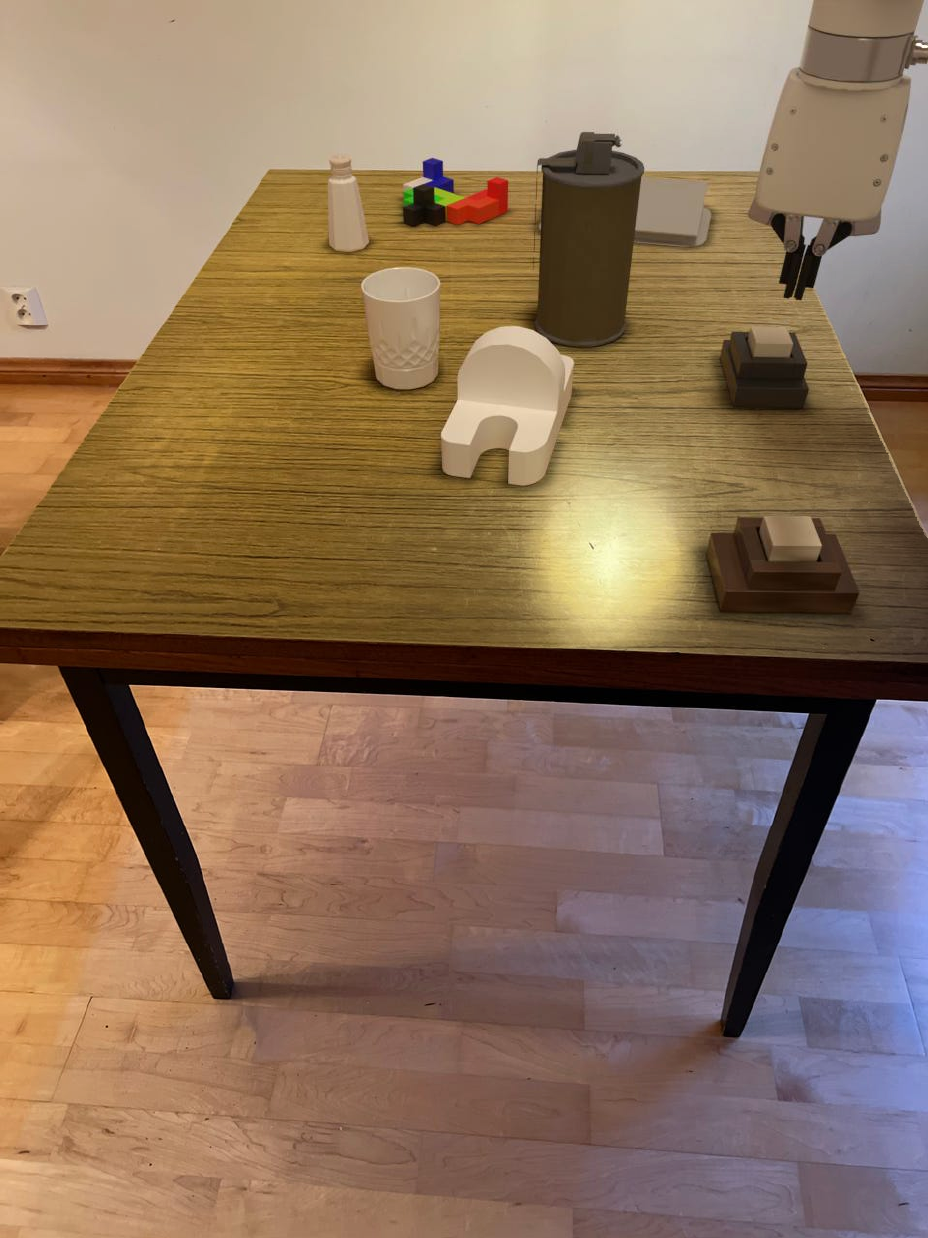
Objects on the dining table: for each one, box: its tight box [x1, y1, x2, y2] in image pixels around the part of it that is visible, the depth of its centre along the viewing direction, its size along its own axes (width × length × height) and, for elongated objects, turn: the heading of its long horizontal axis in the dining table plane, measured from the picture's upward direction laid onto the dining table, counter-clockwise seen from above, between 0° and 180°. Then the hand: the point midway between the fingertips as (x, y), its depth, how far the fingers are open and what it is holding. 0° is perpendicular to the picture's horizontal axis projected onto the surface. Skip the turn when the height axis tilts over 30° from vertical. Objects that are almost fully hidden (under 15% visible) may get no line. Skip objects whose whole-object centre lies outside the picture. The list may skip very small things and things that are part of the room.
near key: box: [759, 515, 822, 562], centre depth 67 cm, size 4×4×2 cm
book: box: [538, 176, 712, 248], centre depth 123 cm, size 15×23×4 cm, turn 74°
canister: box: [532, 131, 645, 348], centre depth 95 cm, size 11×10×20 cm
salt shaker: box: [327, 154, 370, 253], centre depth 116 cm, size 5×5×11 cm
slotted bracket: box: [440, 325, 575, 487], centre depth 83 cm, size 18×10×10 cm, turn 165°
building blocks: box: [402, 157, 509, 227], centre depth 126 cm, size 15×13×4 cm
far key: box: [747, 325, 793, 357], centre depth 89 cm, size 4×4×2 cm
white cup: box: [360, 266, 441, 390], centre depth 91 cm, size 8×8×10 cm
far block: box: [719, 331, 810, 409], centre depth 91 cm, size 10×7×4 cm
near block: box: [706, 516, 860, 614], centre depth 69 cm, size 10×7×4 cm
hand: (794, 292), depth 79 cm, fingers closed
